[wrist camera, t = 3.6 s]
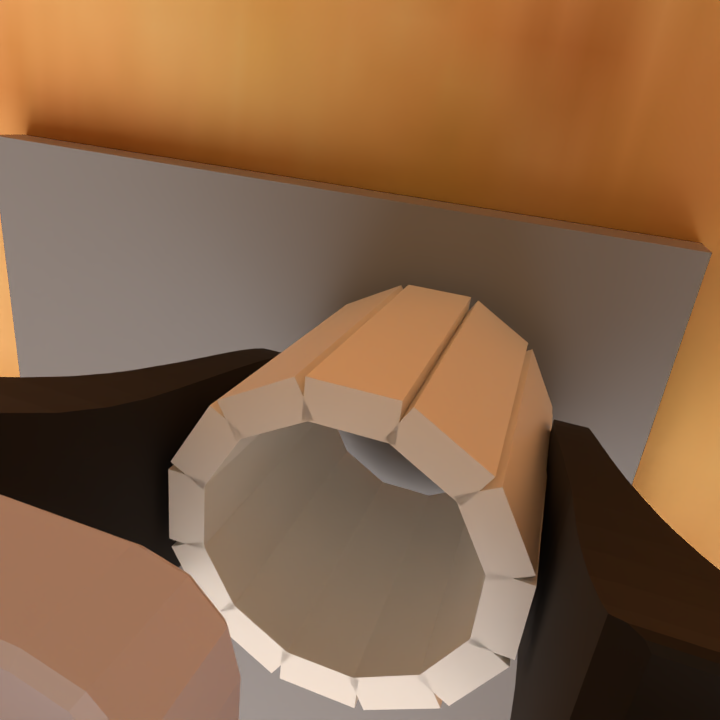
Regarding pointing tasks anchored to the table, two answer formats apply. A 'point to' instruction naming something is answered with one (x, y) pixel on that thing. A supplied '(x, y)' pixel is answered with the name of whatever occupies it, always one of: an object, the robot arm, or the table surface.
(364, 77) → the table surface
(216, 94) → the table surface
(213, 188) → the duct board
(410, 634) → the sleeve
